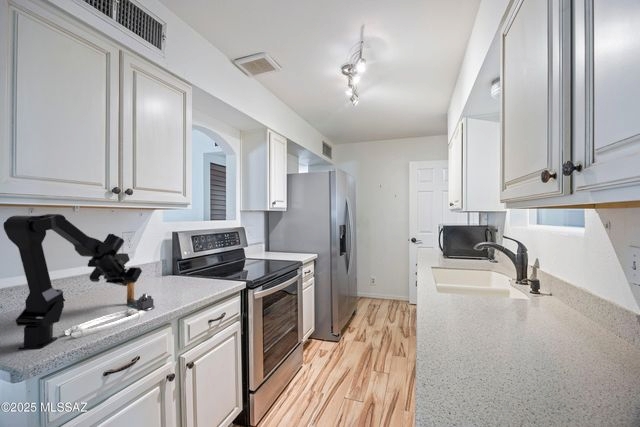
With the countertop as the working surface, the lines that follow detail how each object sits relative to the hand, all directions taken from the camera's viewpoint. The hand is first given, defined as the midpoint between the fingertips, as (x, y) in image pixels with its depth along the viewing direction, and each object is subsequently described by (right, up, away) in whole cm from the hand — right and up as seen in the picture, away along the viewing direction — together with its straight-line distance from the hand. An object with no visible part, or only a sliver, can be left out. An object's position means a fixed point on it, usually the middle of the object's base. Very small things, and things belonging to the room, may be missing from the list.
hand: (125, 285), depth 125 cm
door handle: (+8, -9, -21) cm, 24 cm away
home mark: (+3, -9, 0) cm, 9 cm away
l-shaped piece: (+6, -8, -1) cm, 11 cm away
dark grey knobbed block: (+11, -9, -4) cm, 14 cm away
